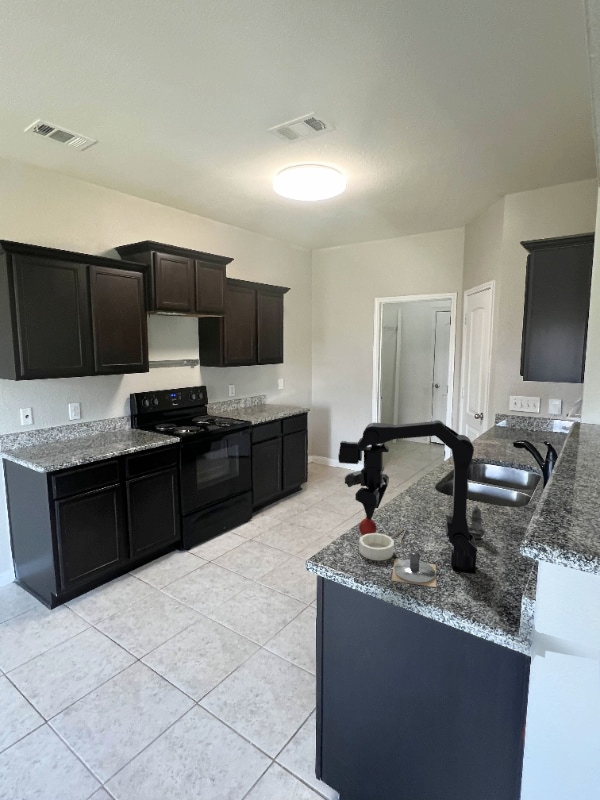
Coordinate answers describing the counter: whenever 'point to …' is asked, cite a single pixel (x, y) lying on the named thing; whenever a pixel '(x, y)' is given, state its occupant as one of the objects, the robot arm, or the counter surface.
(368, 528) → the onion
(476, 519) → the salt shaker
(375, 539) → the bowl
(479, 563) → the counter surface
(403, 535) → the tweezers
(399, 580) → the mat
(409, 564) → the lid
